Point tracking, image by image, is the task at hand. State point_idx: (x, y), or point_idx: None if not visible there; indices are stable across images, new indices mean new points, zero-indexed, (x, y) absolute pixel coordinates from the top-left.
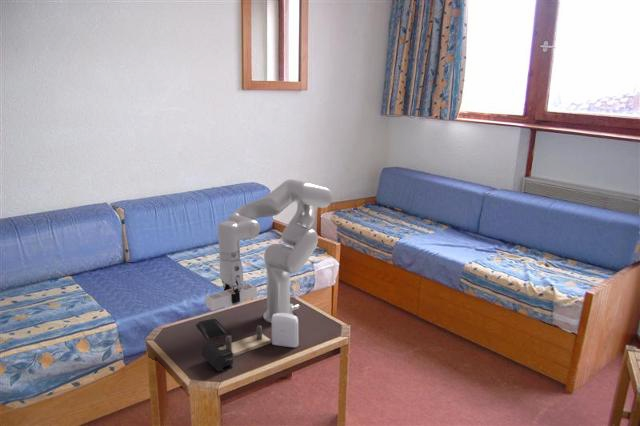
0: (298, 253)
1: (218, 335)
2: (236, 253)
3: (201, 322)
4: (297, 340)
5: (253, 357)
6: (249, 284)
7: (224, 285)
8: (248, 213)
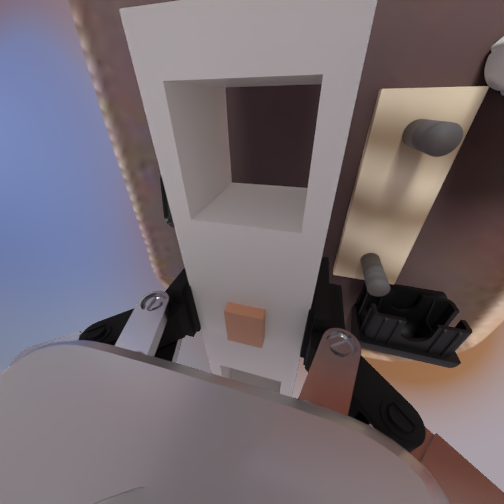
0: None
1: None
2: None
3: (169, 214)
4: None
5: (475, 223)
6: (178, 58)
7: (174, 361)
8: None
